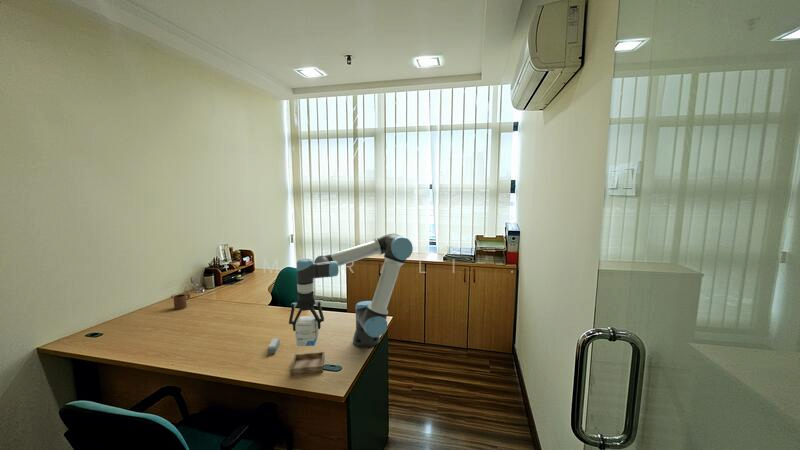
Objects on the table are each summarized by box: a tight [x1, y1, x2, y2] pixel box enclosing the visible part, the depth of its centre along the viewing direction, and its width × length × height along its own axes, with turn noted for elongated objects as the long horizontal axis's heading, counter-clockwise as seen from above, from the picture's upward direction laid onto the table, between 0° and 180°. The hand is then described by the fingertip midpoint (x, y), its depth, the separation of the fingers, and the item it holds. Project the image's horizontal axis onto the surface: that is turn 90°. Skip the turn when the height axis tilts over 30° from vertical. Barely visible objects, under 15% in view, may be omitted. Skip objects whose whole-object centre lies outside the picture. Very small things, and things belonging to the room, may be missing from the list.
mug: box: [173, 292, 191, 311], centre depth 233 cm, size 12×8×9 cm, turn 167°
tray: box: [290, 351, 325, 376], centre depth 154 cm, size 15×14×3 cm
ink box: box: [295, 315, 318, 347], centre depth 152 cm, size 9×8×12 cm
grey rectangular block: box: [267, 337, 281, 355], centre depth 170 cm, size 10×4×4 cm, turn 8°
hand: (307, 336), depth 153 cm, fingers closed on ink box, 9 cm apart
